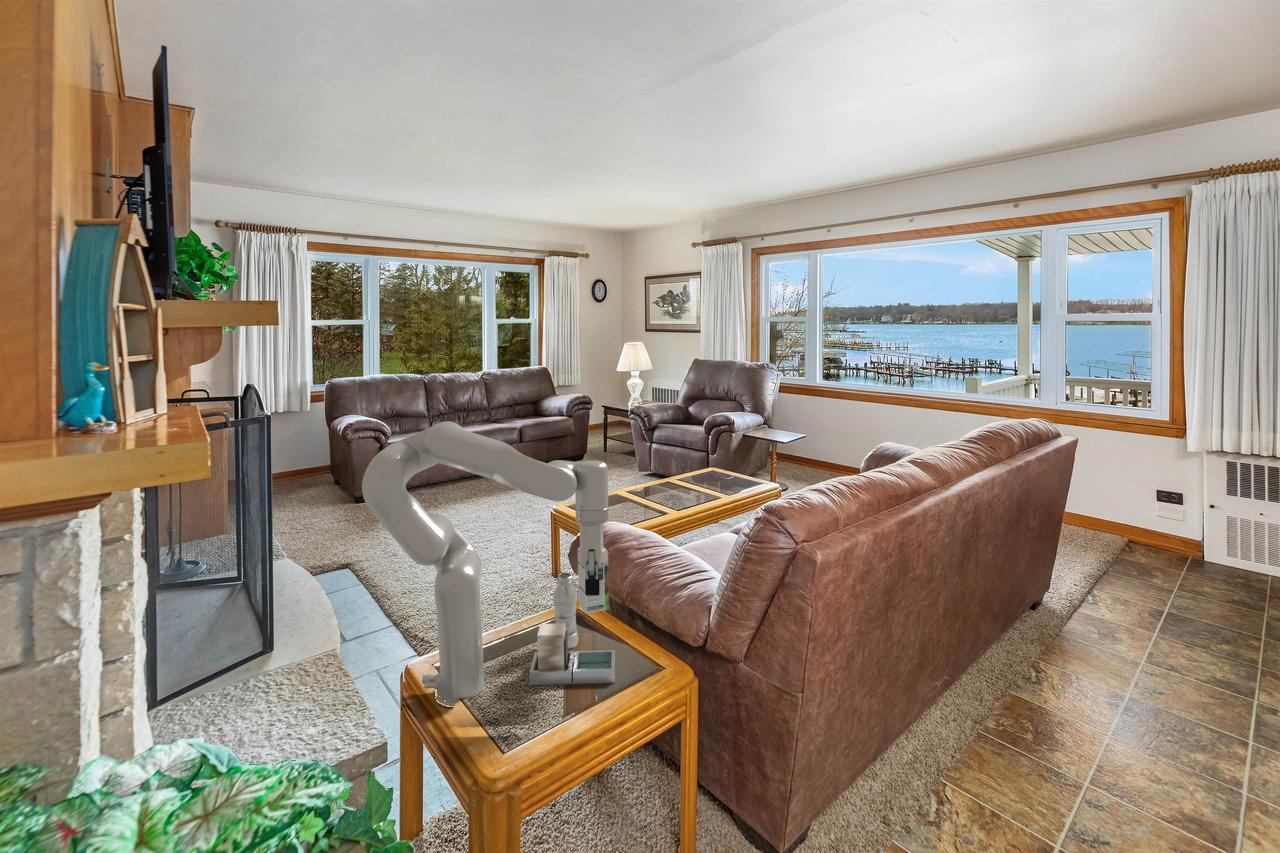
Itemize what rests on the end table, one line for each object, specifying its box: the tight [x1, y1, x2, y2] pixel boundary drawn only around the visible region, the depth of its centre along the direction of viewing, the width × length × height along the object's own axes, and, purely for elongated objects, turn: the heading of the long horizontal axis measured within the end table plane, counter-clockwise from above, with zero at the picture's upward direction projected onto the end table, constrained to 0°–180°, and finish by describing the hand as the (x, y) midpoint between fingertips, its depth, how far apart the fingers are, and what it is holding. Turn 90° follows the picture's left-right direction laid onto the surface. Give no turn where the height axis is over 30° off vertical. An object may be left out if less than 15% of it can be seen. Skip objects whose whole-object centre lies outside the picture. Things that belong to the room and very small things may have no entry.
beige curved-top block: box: [536, 623, 569, 670], centre depth 145 cm, size 6×6×11 cm
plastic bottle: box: [552, 572, 579, 650], centre depth 160 cm, size 6×7×20 cm
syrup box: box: [577, 545, 610, 615], centre depth 143 cm, size 6×6×14 cm
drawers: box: [528, 649, 617, 686], centre depth 146 cm, size 20×10×4 cm, turn 92°
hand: (593, 587), depth 144 cm, fingers closed on syrup box, 7 cm apart
